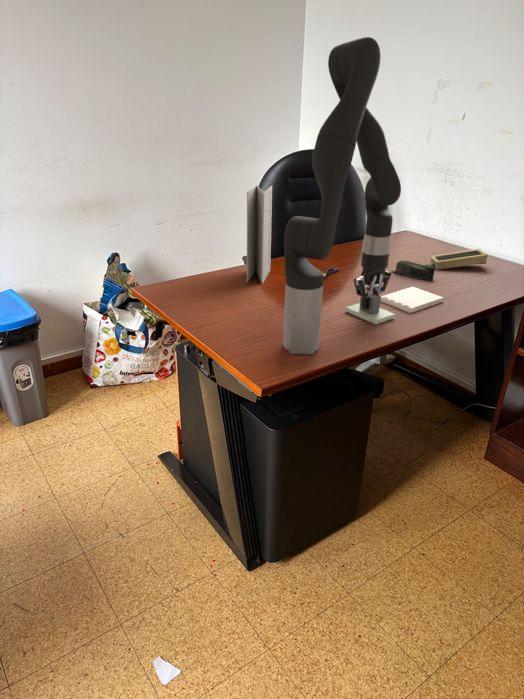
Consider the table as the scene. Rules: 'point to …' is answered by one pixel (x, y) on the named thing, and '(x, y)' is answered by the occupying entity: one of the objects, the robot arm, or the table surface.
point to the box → (458, 259)
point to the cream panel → (411, 299)
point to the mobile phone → (414, 270)
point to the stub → (371, 311)
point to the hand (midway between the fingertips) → (369, 307)
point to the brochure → (259, 232)
